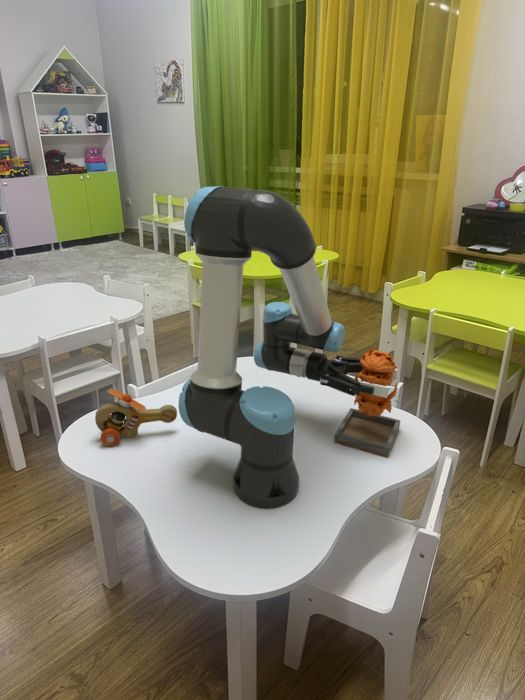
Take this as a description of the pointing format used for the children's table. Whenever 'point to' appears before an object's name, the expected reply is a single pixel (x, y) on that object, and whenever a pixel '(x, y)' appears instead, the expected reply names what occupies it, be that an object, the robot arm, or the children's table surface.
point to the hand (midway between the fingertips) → (392, 383)
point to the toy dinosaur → (376, 382)
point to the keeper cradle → (368, 432)
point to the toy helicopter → (127, 417)
